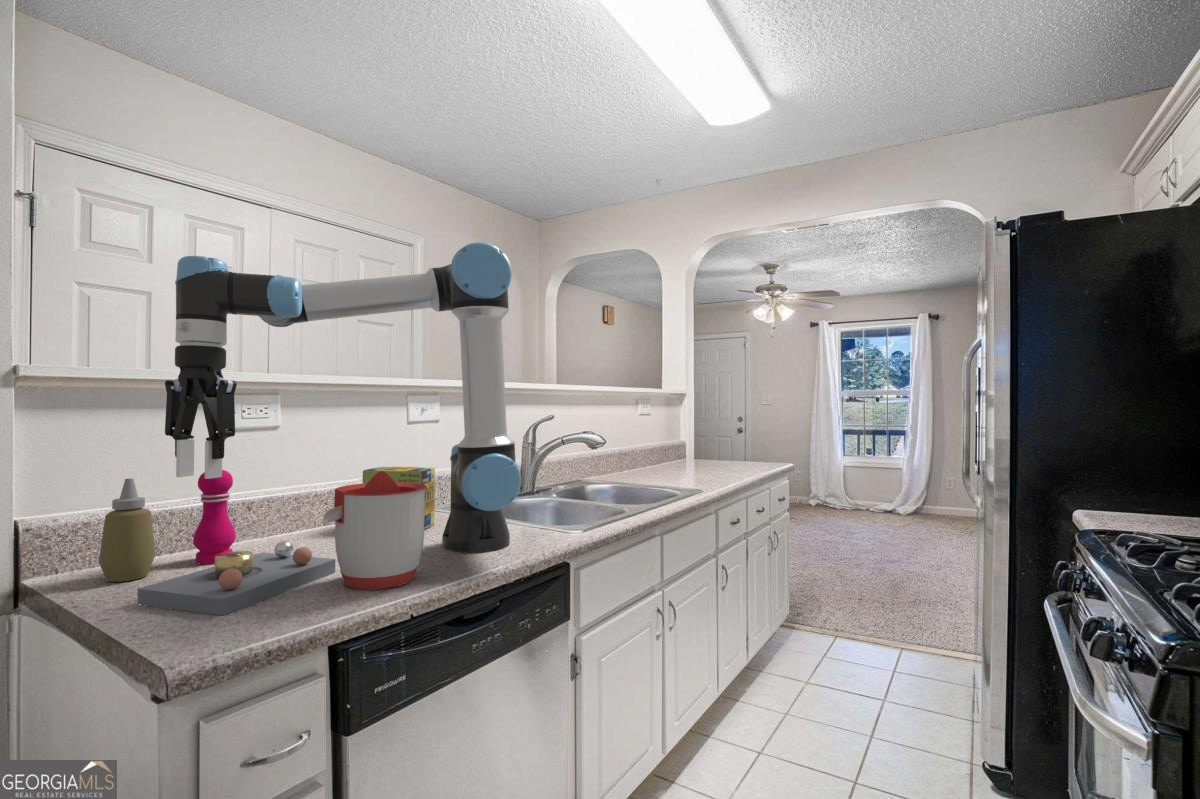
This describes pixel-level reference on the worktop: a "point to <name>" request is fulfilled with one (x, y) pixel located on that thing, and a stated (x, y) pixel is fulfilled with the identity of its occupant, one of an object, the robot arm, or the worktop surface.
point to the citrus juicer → (378, 531)
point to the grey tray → (256, 586)
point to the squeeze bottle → (127, 537)
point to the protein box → (412, 476)
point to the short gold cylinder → (233, 562)
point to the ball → (283, 549)
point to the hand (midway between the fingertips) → (199, 476)
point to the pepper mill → (214, 519)
